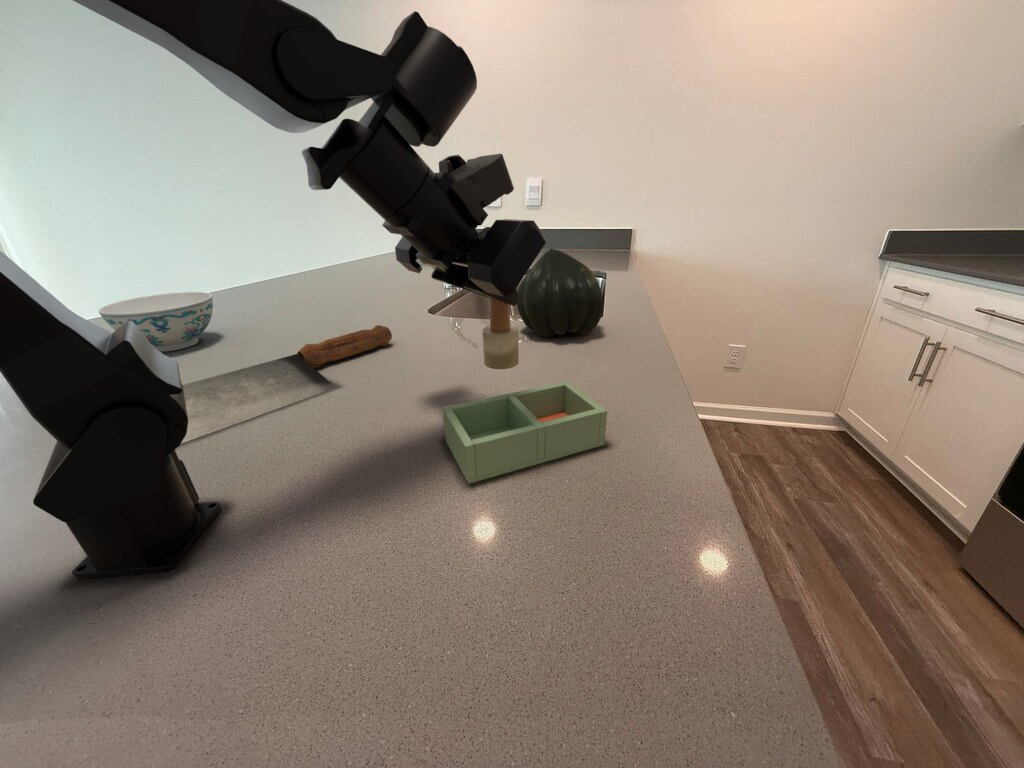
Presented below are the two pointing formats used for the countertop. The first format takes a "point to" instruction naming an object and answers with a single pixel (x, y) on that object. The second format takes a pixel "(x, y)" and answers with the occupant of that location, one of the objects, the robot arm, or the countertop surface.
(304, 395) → the meat cleaver
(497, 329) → the dish brush
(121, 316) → the chinaware
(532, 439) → the green divided tray
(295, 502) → the countertop surface
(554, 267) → the squash
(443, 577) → the countertop surface
